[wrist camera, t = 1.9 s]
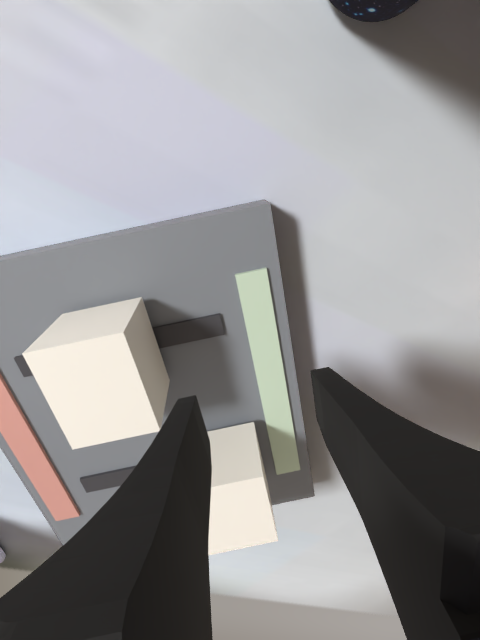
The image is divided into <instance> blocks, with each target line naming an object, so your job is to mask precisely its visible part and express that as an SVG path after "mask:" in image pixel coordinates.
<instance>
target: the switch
mask: <svg viewBox="0 0 480 640" xmlns="http://www.w3.org/2000/svg"><path fill="white" fill-rule="evenodd" d="M207 433H208V436H209V440H210V449H211V463H212V478H211V499H210V518H209V537H208V555H213V554H217V553H222V552H227V551H232V550H236V549H241V548H246V547H251V546H256V545H260V544H265V543H270V542H275V541H278V537H277V531H276V526H275V521H274V515H273V510H272V504H271V499H270V493H269V488H268V483H267V478H266V473H265V469H264V465H263V460H262V456H261V451H260V447H259V443H258V438H257V434H256V429H255V425H254V422H251V423H246V424H241V425H236V426H232V427H227V428H222V429H217V430H213V431H208V432H207Z"/></svg>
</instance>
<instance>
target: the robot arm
mask: <svg viewBox="0 0 480 640" xmlns="http://www.w3.org/2000/svg"><path fill="white" fill-rule="evenodd" d="M311 378H312V386H313V394H314V401H315V409H316V417H317V421H318V424H319V426H320V429H321V432H322V435H323V438H324V440H325V443H326V446H327V448H328V450H329V452H330V454H331V456H332V458H333V460H334V462H335V464H336V466H337V468H338V470H339V472H340V474H341V476H342V478H343V480H344V482H345V484H346V486H347V488H348V490H349V492H350V494H351V496H352V498H353V500H354V502H355V504H356V507H357V509H358V511H359V513H360V515H361V518H362V520H363V522H364V525H365V527H366V530H367V533H368V535H369V538H370V540H371V543H372V546H373V548H374V551H375V553H376V556H377V559H378V561H379V564H380V567H381V569H382V572H383V575H384V577H385V580H386V583H387V585H388V588H389V591H390V593H391V596H392V599H393V602H394V604H395V607H396V610H397V613H398V615H399V618H400V621H401V624H402V626H403V629H404V632H405V635H406V637H407V640H480V451H477V450H474V449H472V448H469V447H466V446H464V445H461V444H459V443H457V442H454V441H452V440H449V439H447V438H444V437H442V436H440V435H438V434H435V433H433V432H431V431H429V430H427V429H425V428H423V427H421V426H419V425H417V424H415V423H413V422H411V421H409V420H407V419H405V418H403V417H401V416H399V415H398V414H396V413H394V412H393V411H391V410H389V409H388V408H386V407H384V406H383V405H381V404H379V403H378V402H376V401H375V400H373V399H372V398H370V397H369V396H367V395H366V394H365V393H363V392H362V391H360V390H359V389H357V388H356V387H355V386H353V385H352V384H351V383H349V382H348V381H347V380H345V379H344V378H343V377H341V376H340V375H339V374H337V373H336V372H335V371H333V370H332V369H331V368H329V367H326V368H321V369H317V370H312V371H311ZM211 478H212V463H211V449H210V440H209V436H208V433H207V430H206V426H205V423H204V420H203V416H202V413H201V410H200V407H199V403H198V400H197V397H196V395H194V396H189V397H184V398H179V399H178V400H177V401H176V403H175V405H174V406H173V408H172V410H171V412H170V413H169V415H168V417H167V419H166V420H165V422H164V424H163V426H162V427H161V429H160V431H159V432H158V434H157V435H156V437H155V439H154V440H153V442H152V443H151V445H150V446H149V448H148V450H147V451H146V452H145V454H144V455H143V457H142V458H141V460H140V461H139V462H138V464H137V465H136V467H135V468H134V470H133V471H132V472H131V474H130V475H129V476H128V477H127V479H126V480H125V481H124V482H123V484H122V485H121V486H120V487H119V488H118V490H117V491H116V492H115V493H114V494H113V496H112V497H111V498H110V499H109V500H108V501H107V502H106V503H105V504H104V505H103V506H102V507H101V508H100V510H99V511H98V512H97V513H96V514H95V515H94V516H93V517H92V518H91V519H90V520H89V521H88V522H87V523H86V524H85V525H84V526H83V527H82V528H81V529H80V530H79V531H78V532H77V533H76V534H75V535H74V536H73V537H72V538H71V539H70V540H69V541H68V542H67V543H65V544H64V545H63V546H62V547H61V548H60V549H59V550H58V551H57V552H55V553H54V554H53V555H52V556H51V557H50V558H49V559H48V560H46V561H45V562H44V563H43V564H42V565H41V566H39V567H38V568H37V569H36V570H34V571H33V572H32V573H31V574H30V575H28V576H27V577H26V578H25V579H23V580H22V581H21V582H20V583H19V584H17V585H16V586H15V587H14V588H12V589H11V590H10V591H9V592H7V593H6V594H5V595H4V596H3V597H1V598H0V640H212V624H211V605H210V584H209V559H208V537H209V518H210V499H211ZM5 557H6V554H5V553H4V551H3V550H2V549H1V547H0V563H2V562H3V561H4V559H5Z"/></svg>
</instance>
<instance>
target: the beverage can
mask: <svg viewBox="0 0 480 640" xmlns="http://www.w3.org/2000/svg"><path fill="white" fill-rule="evenodd" d="M417 1H418V0H330V2H331V3H332V4H333V5H334V6H335V7H336V8H337V9H338V10H340V11H341V12H342V13H344V14H345V15H347V16H349V17H351V18H354V19H356V20H360V21H366V22H377V21H383V20H387V19H390V18H393V17H395V16H397V15H399V14H401V13H402V12H404V11H405V10H407V9H408V8H409V7H411V6H412V5H413V4H414V3H416V2H417Z"/></svg>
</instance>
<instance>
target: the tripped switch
mask: <svg viewBox="0 0 480 640" xmlns="http://www.w3.org/2000/svg"><path fill="white" fill-rule="evenodd" d="M22 355H23V356H24V358H25V360H26V362H27V364H28V366H29V368H30V370H31V372H32V374H33V375H34V377H35V379H36V381H37V383H38V385H39V387H40V389H41V391H42V393H43V394H44V396H45V398H46V400H47V402H48V404H49V406H50V408H51V410H52V412H53V413H54V415H55V417H56V419H57V421H58V423H59V425H60V427H61V429H62V431H63V433H64V434H65V436H66V438H67V440H68V442H69V444H70V446H71V448H72V450H73V449H78V448H83V447H87V446H92V445H97V444H102V443H106V442H111V441H116V440H121V439H125V438H130V437H135V436H140V435H144V434H149V433H154V432H159V431H160V429H161V425H162V420H163V414H164V409H165V404H166V398H167V393H168V388H169V382H170V380H169V377H168V374H167V371H166V368H165V365H164V362H163V359H162V356H161V353H160V350H159V347H158V344H157V341H156V338H155V335H154V332H153V329H152V326H151V323H150V320H149V317H148V314H147V311H146V308H145V305H144V302H143V299H142V297H139V298H135V299H130V300H125V301H120V302H116V303H111V304H106V305H102V306H97V307H92V308H88V309H83V310H78V311H74V312H69V313H64V314H62V315H61V316H60V317H59V318H58V319H57V320H56V321H55V322H54V323H53V324H52V325H51V326H50V327H49V328H48V329H47V330H46V331H45V332H44V333H43V334H42V335H41V336H40V337H38V338H37V339H36V340H35V341H34V342H33V343H32V344H31V345H30V346H29V347H28V348H27V349H26V350H25V351H24V352H23V353H22Z"/></svg>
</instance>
